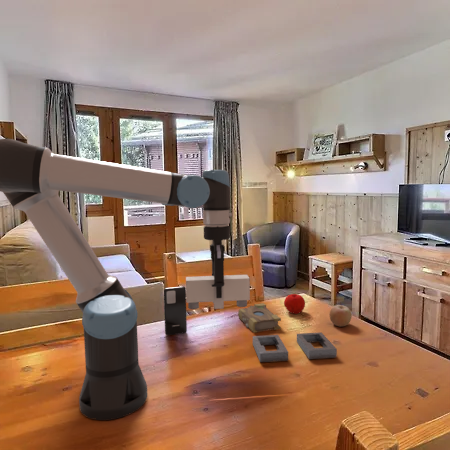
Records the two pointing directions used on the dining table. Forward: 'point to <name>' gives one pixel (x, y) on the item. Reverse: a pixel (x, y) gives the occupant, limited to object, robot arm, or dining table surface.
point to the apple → (294, 303)
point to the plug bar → (204, 292)
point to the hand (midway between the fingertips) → (218, 305)
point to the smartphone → (175, 310)
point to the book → (259, 318)
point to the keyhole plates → (302, 340)
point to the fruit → (340, 315)
